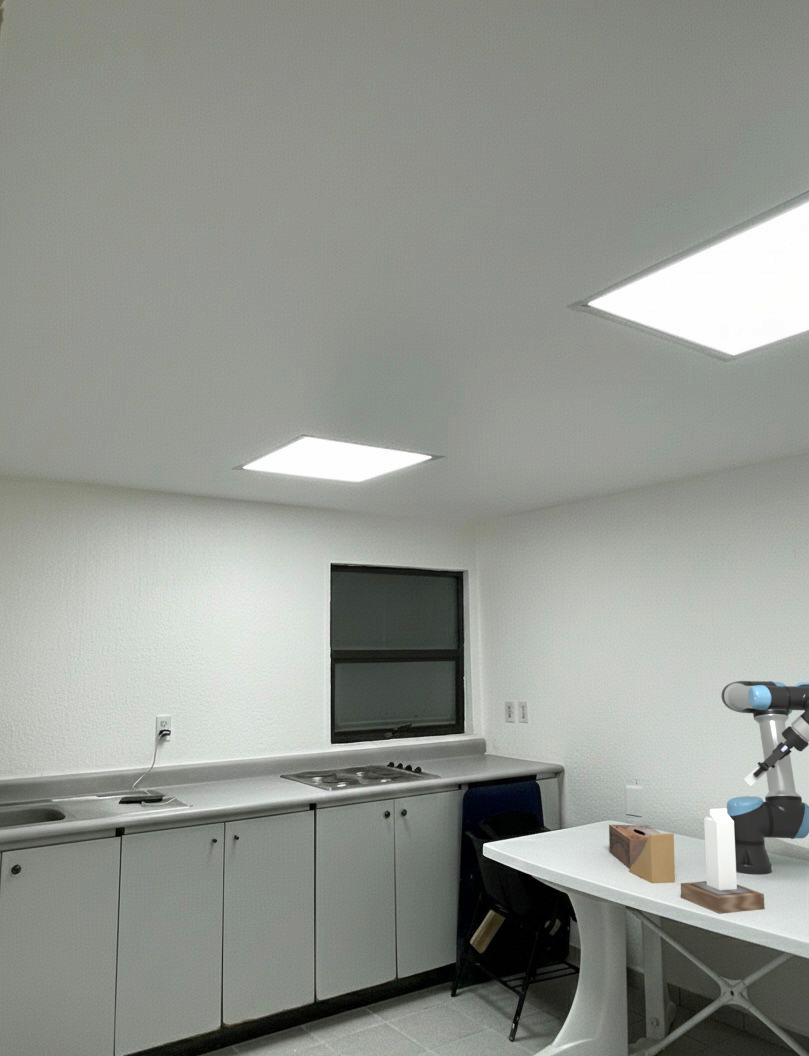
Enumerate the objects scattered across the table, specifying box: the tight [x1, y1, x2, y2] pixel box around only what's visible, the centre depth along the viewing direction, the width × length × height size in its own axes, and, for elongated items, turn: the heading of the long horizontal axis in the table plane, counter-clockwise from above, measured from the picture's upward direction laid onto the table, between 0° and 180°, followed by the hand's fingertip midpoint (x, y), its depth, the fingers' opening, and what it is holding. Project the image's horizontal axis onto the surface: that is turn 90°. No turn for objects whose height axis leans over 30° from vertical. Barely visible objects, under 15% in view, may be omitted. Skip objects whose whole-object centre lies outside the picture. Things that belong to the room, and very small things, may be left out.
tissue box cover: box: [608, 824, 662, 870], centre depth 283 cm, size 26×14×10 cm, turn 1°
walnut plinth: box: [680, 880, 765, 914], centre depth 234 cm, size 16×16×4 cm
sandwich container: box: [628, 832, 676, 884], centre depth 263 cm, size 9×15×15 cm, turn 14°
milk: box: [703, 807, 738, 890], centre depth 236 cm, size 6×6×22 cm
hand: (750, 780), depth 254 cm, fingers open, 13 cm apart
